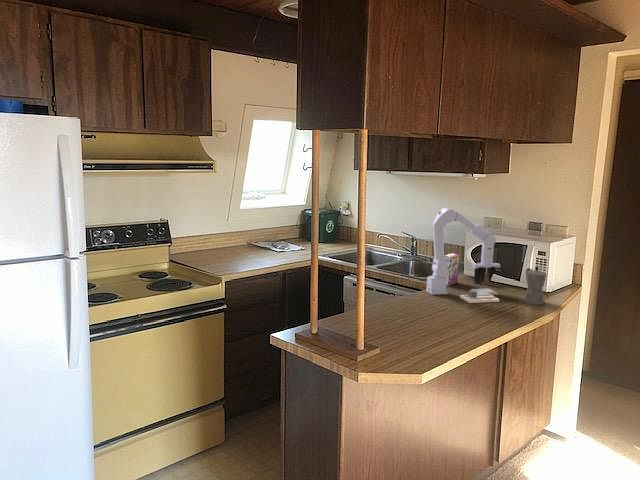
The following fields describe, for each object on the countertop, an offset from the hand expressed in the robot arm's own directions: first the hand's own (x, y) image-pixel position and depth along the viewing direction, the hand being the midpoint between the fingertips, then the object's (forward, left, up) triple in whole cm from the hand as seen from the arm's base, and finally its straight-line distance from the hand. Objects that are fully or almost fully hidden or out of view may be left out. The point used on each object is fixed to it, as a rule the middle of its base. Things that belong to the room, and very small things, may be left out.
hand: (485, 281), depth 272 cm
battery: (+8, +18, -6) cm, 21 cm away
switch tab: (-13, -11, -5) cm, 18 cm away
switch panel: (-9, -11, -6) cm, 15 cm away
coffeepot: (+16, -18, -6) cm, 25 cm away
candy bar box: (-10, +20, -6) cm, 23 cm away
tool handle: (0, 0, -2) cm, 2 cm away
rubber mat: (0, 0, -6) cm, 6 cm away
